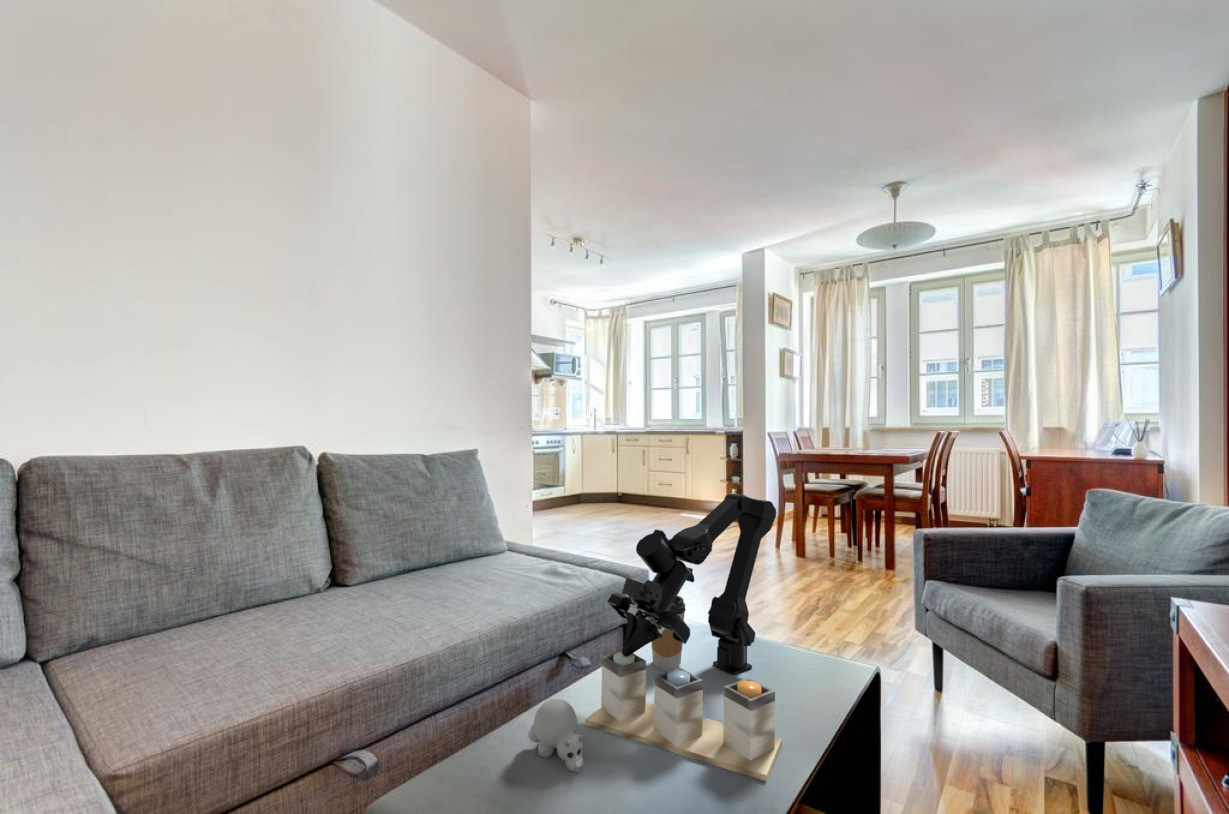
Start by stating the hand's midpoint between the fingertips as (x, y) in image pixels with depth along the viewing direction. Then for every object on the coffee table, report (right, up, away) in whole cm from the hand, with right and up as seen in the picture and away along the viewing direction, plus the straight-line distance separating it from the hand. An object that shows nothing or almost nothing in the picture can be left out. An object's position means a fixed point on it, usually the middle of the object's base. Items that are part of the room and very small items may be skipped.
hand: (624, 655), depth 108 cm
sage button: (0, -2, 0) cm, 2 cm away
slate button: (+9, -2, -8) cm, 12 cm away
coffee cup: (+10, -12, +22) cm, 27 cm away
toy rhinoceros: (-11, -11, -14) cm, 21 cm away
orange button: (+21, -2, -11) cm, 24 cm away
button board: (+10, -11, -7) cm, 17 cm away
